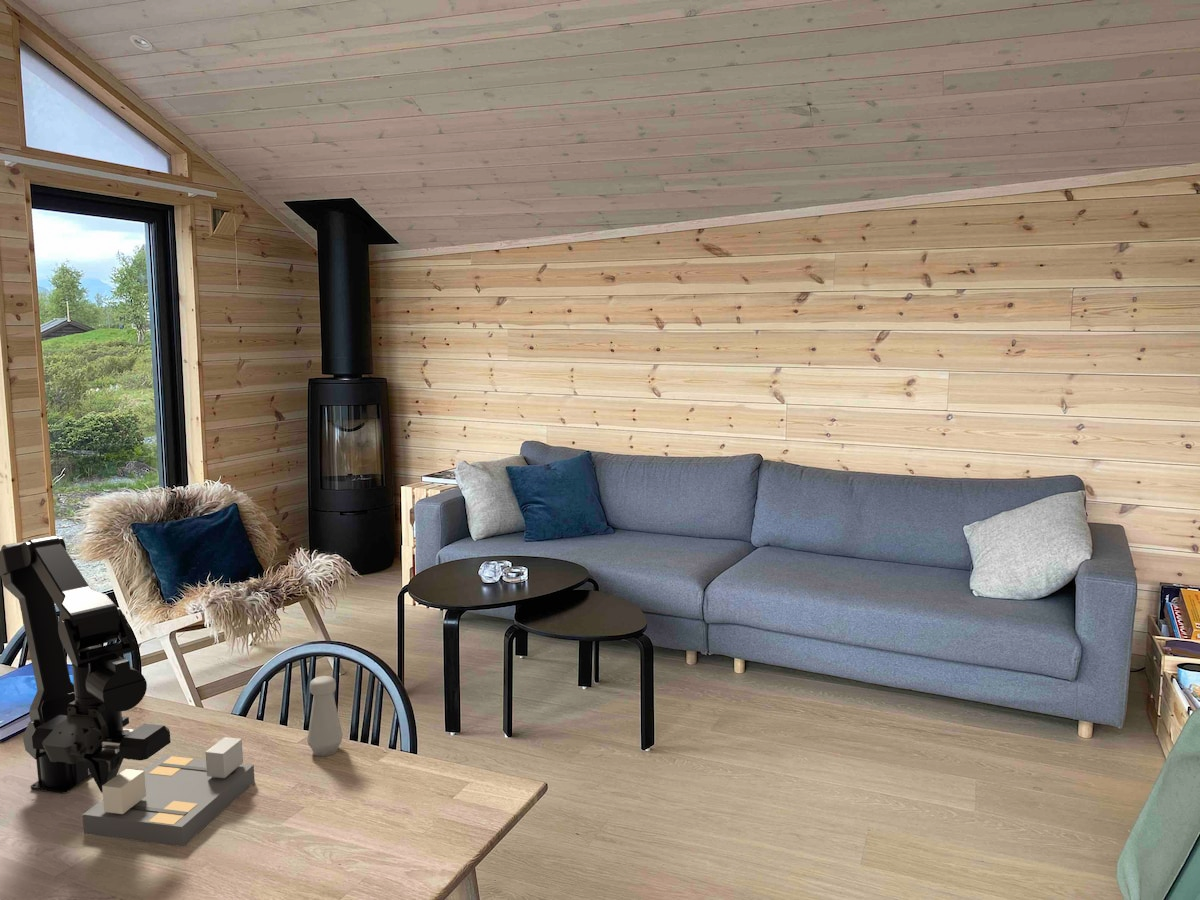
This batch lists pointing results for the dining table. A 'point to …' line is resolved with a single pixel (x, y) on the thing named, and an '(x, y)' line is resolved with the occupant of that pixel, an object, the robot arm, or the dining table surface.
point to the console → (172, 803)
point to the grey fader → (224, 757)
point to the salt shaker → (324, 718)
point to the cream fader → (124, 791)
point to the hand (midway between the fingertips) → (106, 791)
